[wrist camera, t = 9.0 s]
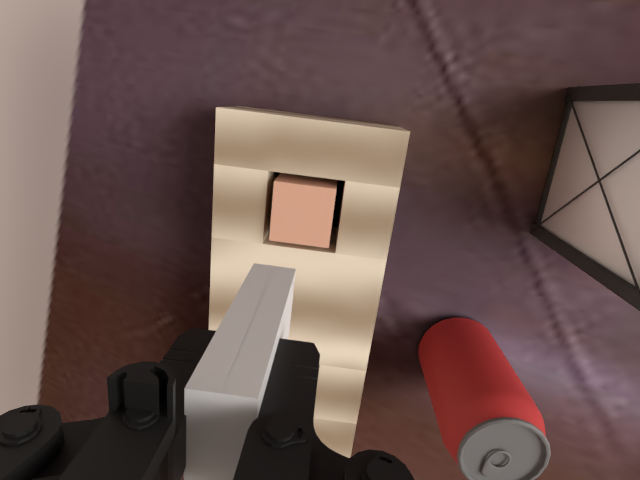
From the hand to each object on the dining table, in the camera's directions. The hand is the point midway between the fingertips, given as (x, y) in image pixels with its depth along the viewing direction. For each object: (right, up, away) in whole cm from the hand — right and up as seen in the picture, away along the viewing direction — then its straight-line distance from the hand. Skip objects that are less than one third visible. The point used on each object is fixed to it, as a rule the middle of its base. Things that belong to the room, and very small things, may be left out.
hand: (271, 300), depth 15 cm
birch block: (0, -1, +20) cm, 20 cm away
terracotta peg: (+1, +6, +18) cm, 18 cm away
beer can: (+14, -7, +22) cm, 27 cm away
